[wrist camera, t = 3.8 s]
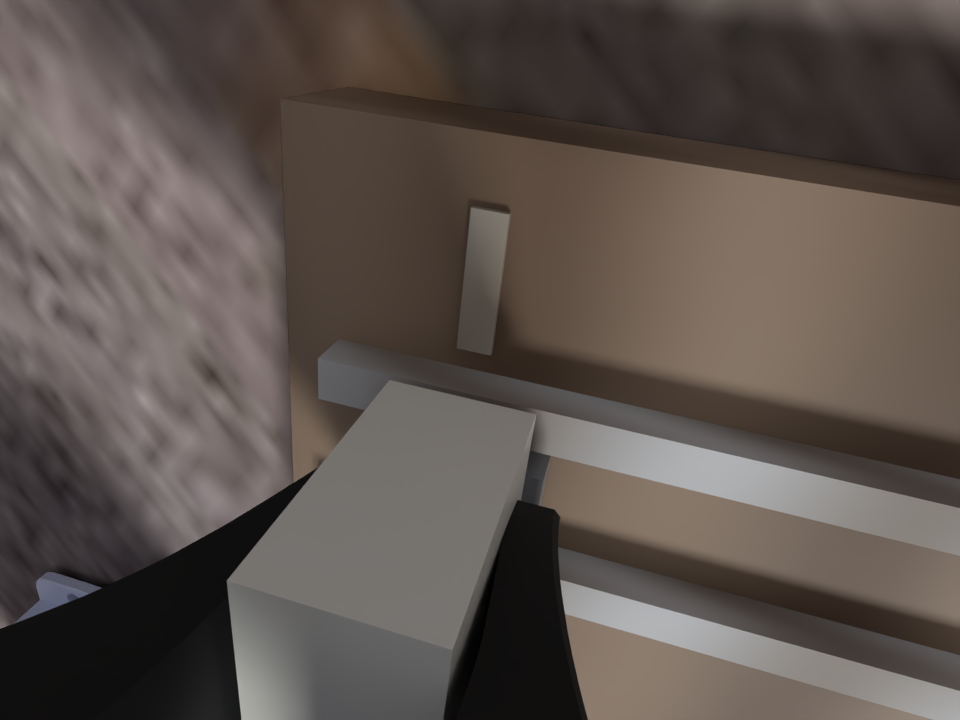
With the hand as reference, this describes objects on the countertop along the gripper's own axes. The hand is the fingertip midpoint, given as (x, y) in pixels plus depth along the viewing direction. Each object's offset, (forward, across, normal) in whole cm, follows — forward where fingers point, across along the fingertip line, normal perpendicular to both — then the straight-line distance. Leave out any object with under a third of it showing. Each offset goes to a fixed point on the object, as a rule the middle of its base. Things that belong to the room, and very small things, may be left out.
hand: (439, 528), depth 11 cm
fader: (+1, 0, 0) cm, 1 cm away
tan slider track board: (+4, -6, 0) cm, 8 cm away
